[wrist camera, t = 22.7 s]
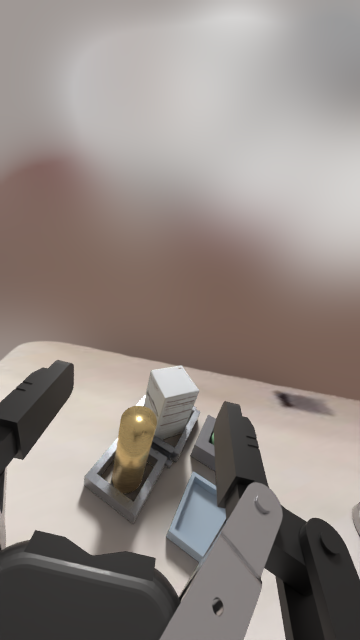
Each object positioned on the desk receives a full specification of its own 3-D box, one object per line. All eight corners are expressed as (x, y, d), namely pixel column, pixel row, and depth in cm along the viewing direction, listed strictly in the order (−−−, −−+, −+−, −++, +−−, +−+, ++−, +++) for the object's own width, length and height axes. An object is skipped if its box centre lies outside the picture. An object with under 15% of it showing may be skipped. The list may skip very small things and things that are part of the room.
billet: (148, 470, 38) (163, 416, 32) (130, 500, 34) (144, 444, 27) (125, 455, 39) (135, 400, 33) (105, 481, 35) (112, 424, 29)
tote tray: (239, 509, 36) (243, 503, 35) (225, 583, 28) (230, 577, 27) (190, 477, 38) (193, 471, 38) (166, 536, 31) (168, 530, 30)
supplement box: (140, 413, 48) (149, 368, 42) (170, 405, 51) (182, 364, 46) (151, 444, 42) (164, 398, 37) (184, 433, 46) (200, 390, 40)
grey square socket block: (238, 444, 46) (243, 434, 45) (229, 480, 40) (236, 469, 38) (203, 425, 49) (208, 414, 47) (190, 455, 42) (194, 444, 40)
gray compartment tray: (198, 417, 50) (201, 410, 49) (141, 531, 31) (144, 523, 30) (153, 392, 54) (154, 384, 53) (77, 479, 34) (77, 470, 33)
